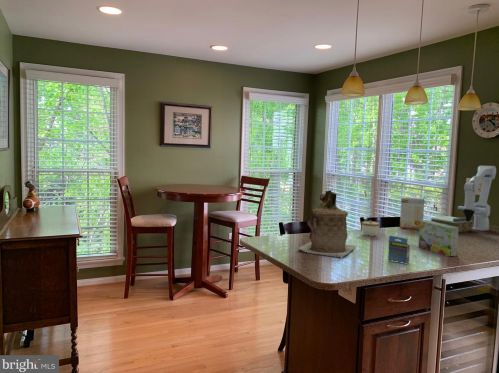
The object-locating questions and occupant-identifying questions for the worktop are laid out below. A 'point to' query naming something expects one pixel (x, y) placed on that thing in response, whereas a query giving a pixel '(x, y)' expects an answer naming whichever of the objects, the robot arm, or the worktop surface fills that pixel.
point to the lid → (452, 219)
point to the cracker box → (411, 212)
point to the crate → (457, 225)
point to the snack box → (438, 237)
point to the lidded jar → (370, 228)
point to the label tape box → (398, 249)
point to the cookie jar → (328, 229)
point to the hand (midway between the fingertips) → (468, 221)
